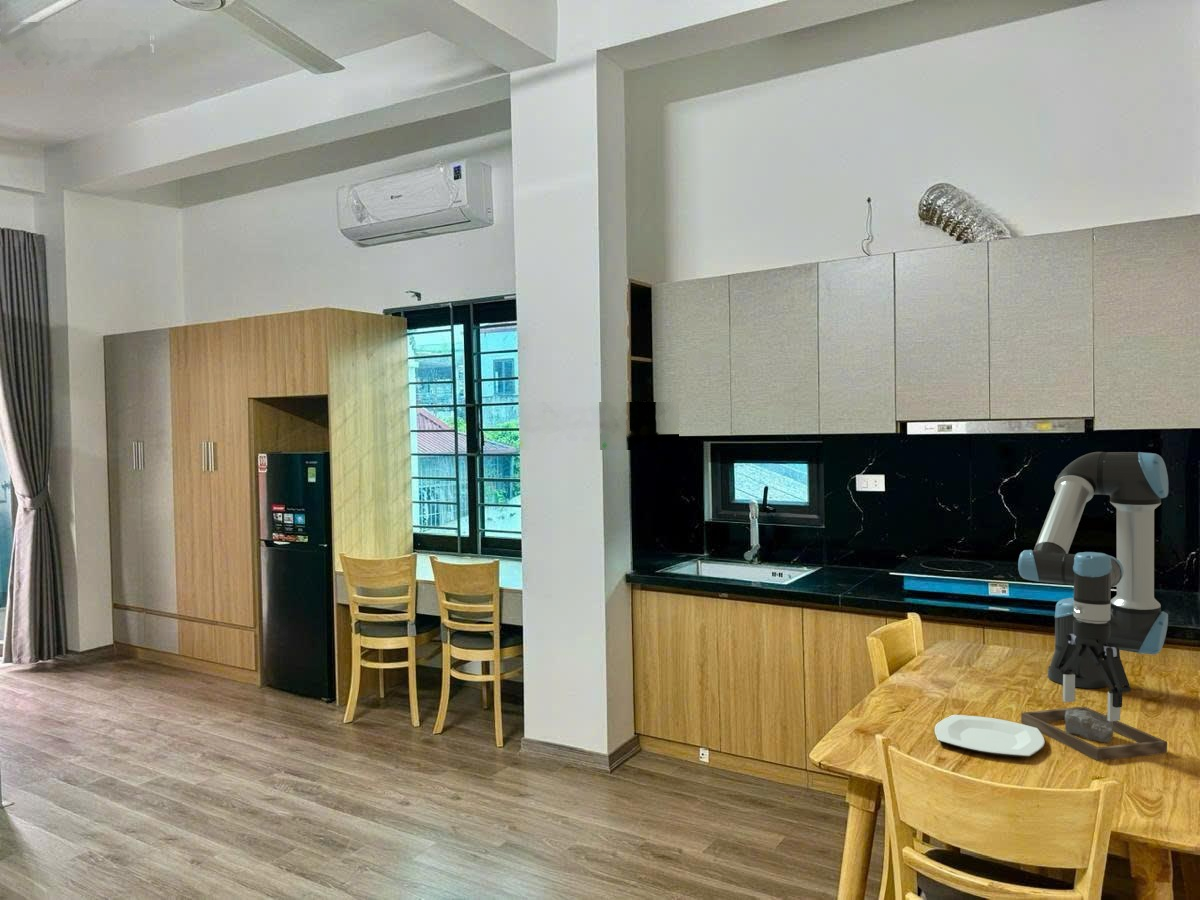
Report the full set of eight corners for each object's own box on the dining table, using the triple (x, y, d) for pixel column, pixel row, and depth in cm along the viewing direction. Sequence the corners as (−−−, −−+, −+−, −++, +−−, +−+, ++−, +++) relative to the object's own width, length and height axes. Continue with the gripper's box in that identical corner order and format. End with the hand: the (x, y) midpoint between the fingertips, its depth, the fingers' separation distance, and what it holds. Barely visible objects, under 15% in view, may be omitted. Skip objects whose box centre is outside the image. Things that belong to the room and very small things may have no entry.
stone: (1113, 746, 195) (1113, 721, 195) (1063, 739, 200) (1063, 714, 200) (1113, 735, 202) (1113, 710, 202) (1065, 728, 207) (1065, 704, 207)
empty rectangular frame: (1084, 716, 214) (1084, 706, 214) (1166, 753, 191) (1167, 741, 191) (1021, 722, 211) (1021, 712, 210) (1097, 760, 187) (1097, 749, 187)
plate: (1039, 769, 184) (1039, 760, 184) (925, 749, 196) (925, 740, 196) (1048, 735, 203) (1048, 726, 203) (944, 718, 215) (944, 710, 215)
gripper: (1039, 609, 211) (1038, 695, 212) (1121, 633, 187) (1119, 730, 187) (1065, 607, 213) (1064, 693, 213) (1150, 631, 188) (1148, 727, 189)
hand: (1090, 710), depth 200 cm, fingers open, 13 cm apart
